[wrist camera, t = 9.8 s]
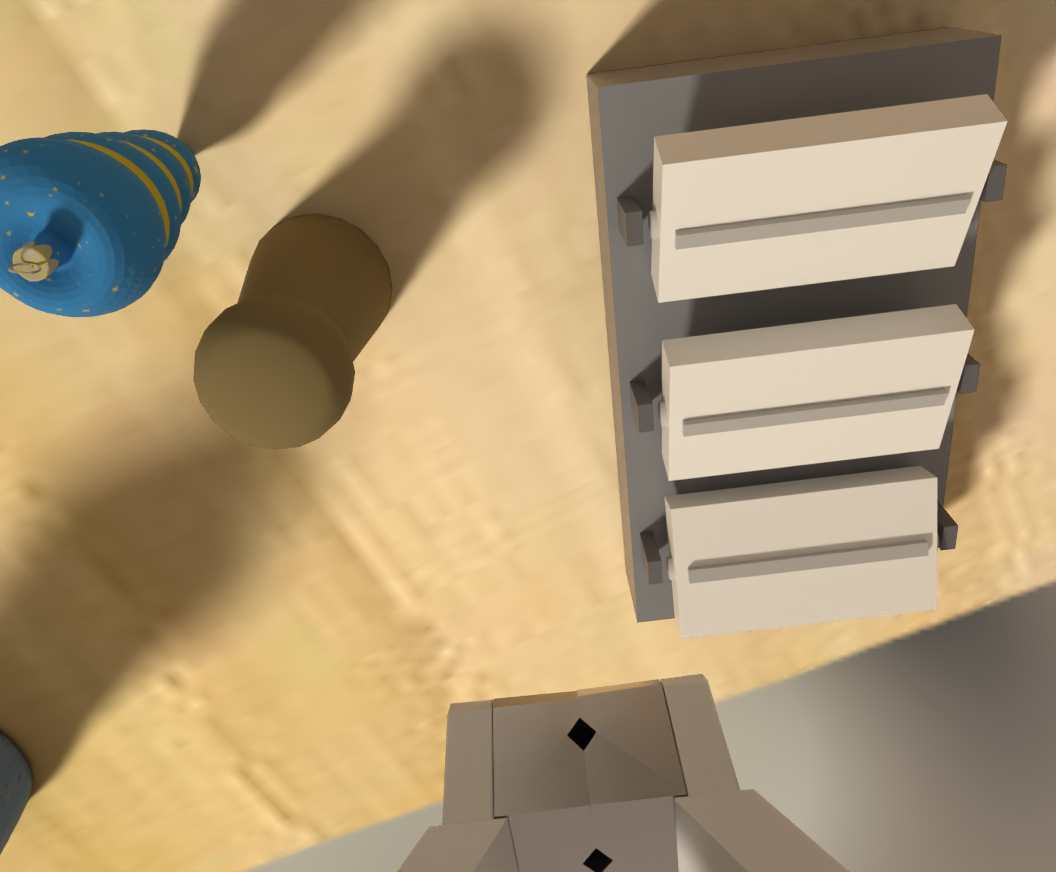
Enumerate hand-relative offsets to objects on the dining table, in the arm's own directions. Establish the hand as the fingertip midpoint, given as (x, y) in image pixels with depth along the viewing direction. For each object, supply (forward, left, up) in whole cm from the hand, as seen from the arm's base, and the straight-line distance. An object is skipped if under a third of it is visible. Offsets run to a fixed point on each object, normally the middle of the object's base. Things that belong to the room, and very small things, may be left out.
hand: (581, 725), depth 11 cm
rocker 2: (+8, +10, -23) cm, 27 cm away
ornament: (-3, -13, -30) cm, 32 cm away
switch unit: (+8, +10, -29) cm, 32 cm away
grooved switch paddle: (+16, +10, -23) cm, 30 cm away
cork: (+3, -9, -30) cm, 31 cm away
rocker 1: (+1, +10, -23) cm, 25 cm away
